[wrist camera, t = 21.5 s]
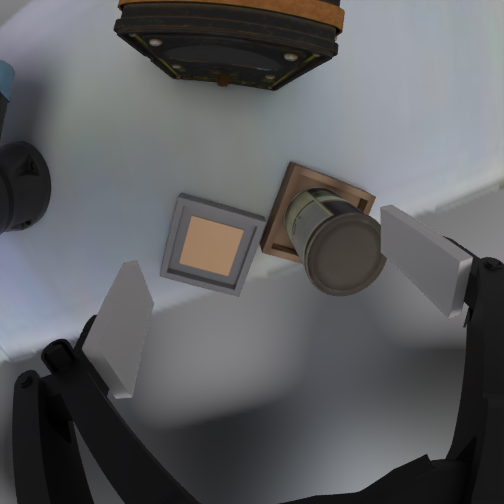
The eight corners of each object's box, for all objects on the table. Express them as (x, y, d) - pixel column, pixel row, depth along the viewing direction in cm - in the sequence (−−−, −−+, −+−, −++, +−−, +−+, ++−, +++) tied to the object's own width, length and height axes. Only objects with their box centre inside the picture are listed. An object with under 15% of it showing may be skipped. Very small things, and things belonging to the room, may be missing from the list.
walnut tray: (259, 243, 48) (262, 252, 45) (290, 161, 43) (295, 164, 40) (334, 264, 50) (341, 274, 47) (366, 191, 46) (375, 197, 42)
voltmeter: (168, 85, 37) (101, 44, 14) (178, 31, 33) (131, -55, 10) (277, 97, 39) (343, 70, 16) (286, 44, 35) (355, -29, 13)
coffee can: (335, 175, 43) (378, 199, 30) (353, 234, 47) (394, 275, 35) (272, 201, 44) (292, 236, 31) (295, 259, 48) (320, 309, 35)
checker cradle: (162, 268, 48) (159, 276, 46) (180, 193, 43) (178, 197, 41) (238, 288, 51) (238, 296, 48) (264, 217, 46) (266, 222, 44)
